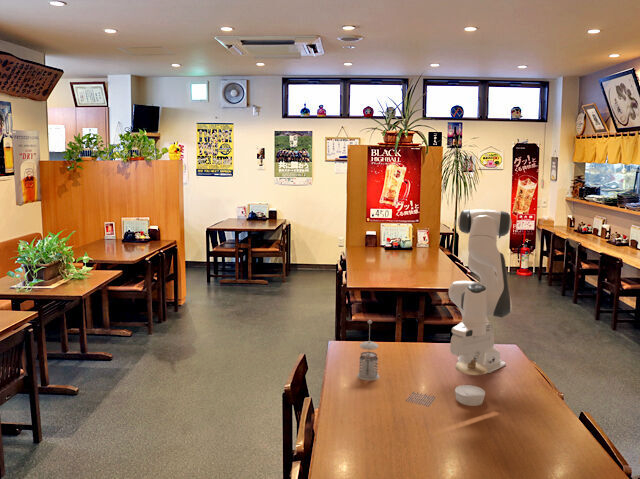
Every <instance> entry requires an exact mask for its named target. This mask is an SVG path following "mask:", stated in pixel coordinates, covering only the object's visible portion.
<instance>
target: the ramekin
mask: <svg viewBox="0 0 640 479" xmlns="http://www.w3.org/2000/svg"><path fill="white" fill-rule="evenodd" d="M454 394H455V399H456V401H457V402H458V403H460V404H462V405H465V406H470V407H476V406H481V405H482V404H483V403H484V400H485V396H486V391H485V390H484V389H483V388H481V387H479V386H477V385H471V384H462V385H458V386H456V387H455V388H454Z"/></svg>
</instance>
